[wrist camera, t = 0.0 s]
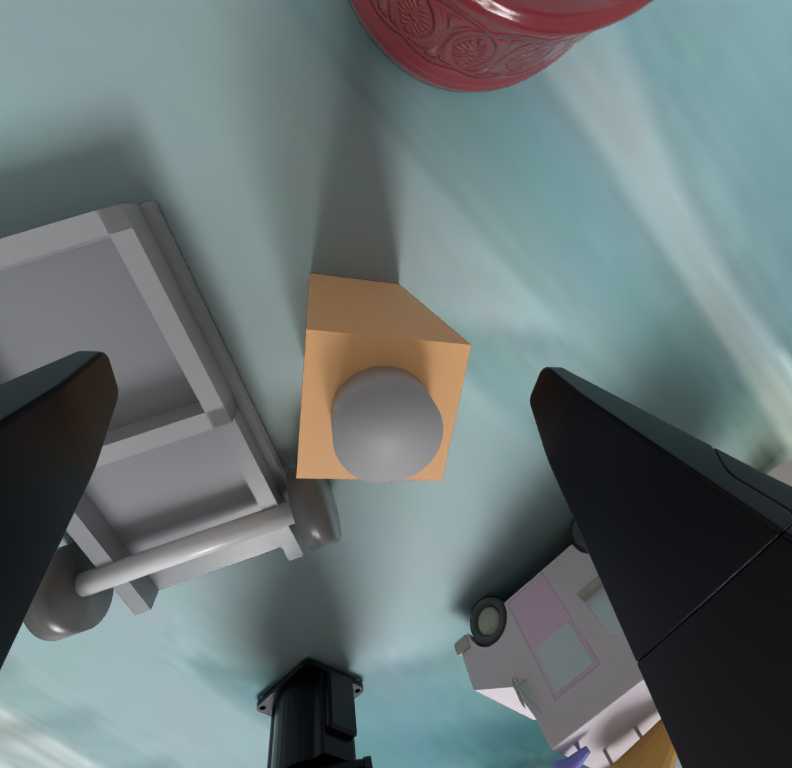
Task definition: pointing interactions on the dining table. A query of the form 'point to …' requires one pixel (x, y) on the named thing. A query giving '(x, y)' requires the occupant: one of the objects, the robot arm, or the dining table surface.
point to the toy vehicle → (567, 667)
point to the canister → (483, 36)
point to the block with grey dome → (376, 384)
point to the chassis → (148, 420)
